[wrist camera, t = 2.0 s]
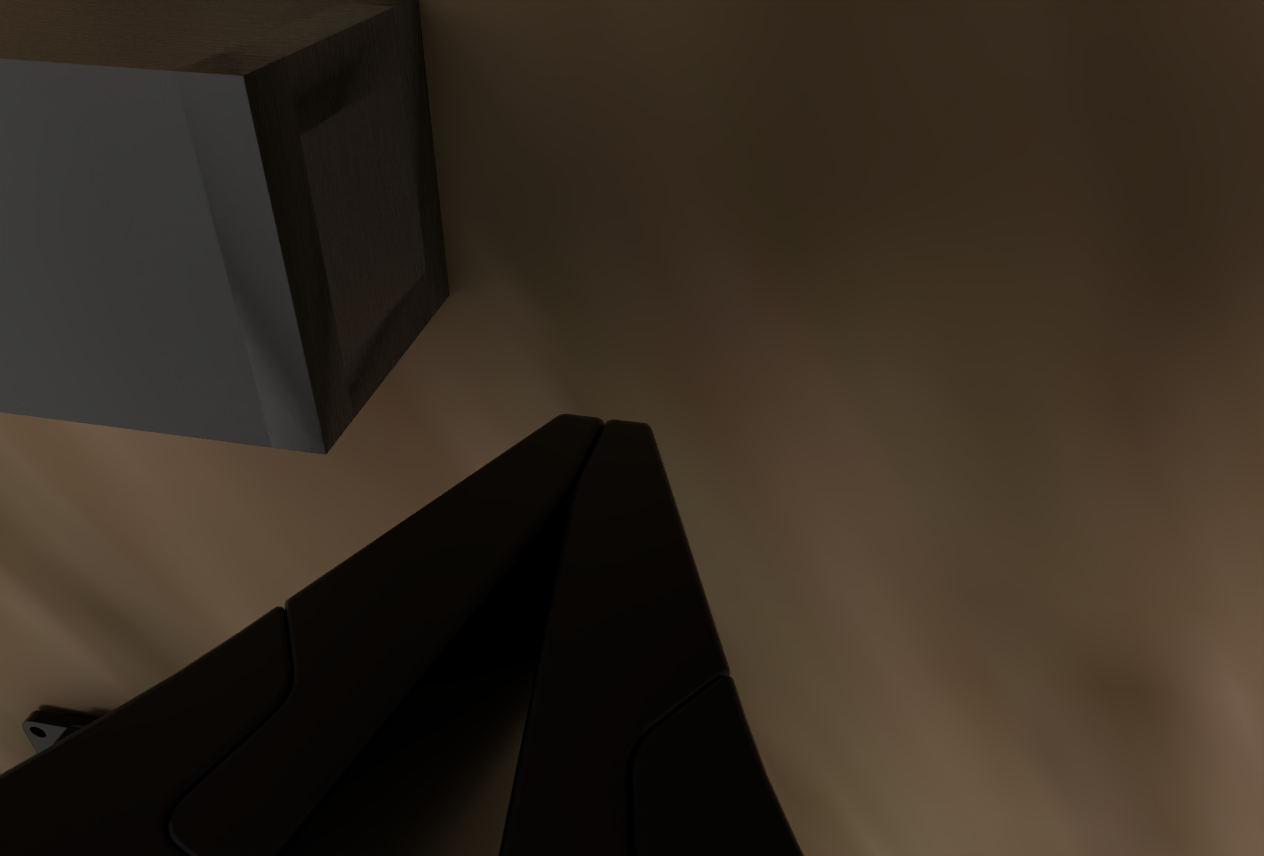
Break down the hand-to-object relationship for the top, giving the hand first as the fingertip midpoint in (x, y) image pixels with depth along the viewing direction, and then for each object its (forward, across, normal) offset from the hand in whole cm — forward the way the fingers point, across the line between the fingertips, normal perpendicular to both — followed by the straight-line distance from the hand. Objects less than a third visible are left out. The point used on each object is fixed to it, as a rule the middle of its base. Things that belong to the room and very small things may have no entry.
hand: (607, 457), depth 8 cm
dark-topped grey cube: (+7, +7, 0) cm, 10 cm away
